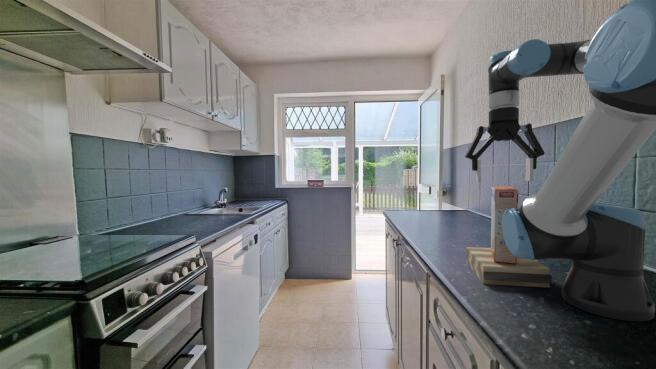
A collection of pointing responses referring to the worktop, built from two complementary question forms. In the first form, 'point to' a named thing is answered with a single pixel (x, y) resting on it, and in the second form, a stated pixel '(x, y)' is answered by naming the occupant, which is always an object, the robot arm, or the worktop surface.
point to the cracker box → (500, 203)
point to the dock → (507, 270)
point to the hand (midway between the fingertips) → (503, 181)
